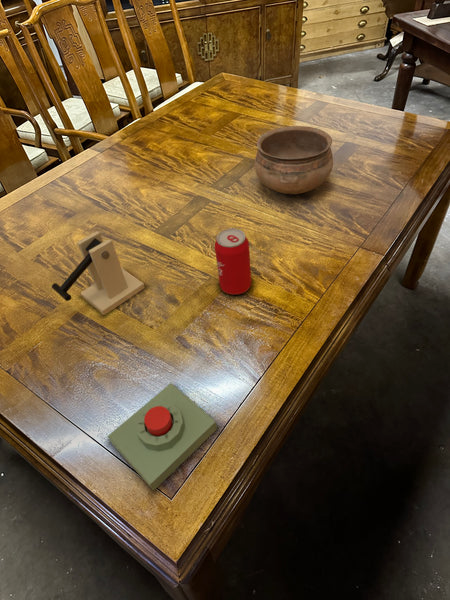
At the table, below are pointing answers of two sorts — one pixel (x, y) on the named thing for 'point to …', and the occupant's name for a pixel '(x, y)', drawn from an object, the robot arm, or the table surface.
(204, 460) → the table surface
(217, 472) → the table surface
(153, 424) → the button
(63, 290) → the press lever
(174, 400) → the button housing
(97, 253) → the lever bracket
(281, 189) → the cooking pot
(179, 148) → the table surface
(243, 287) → the beverage can
